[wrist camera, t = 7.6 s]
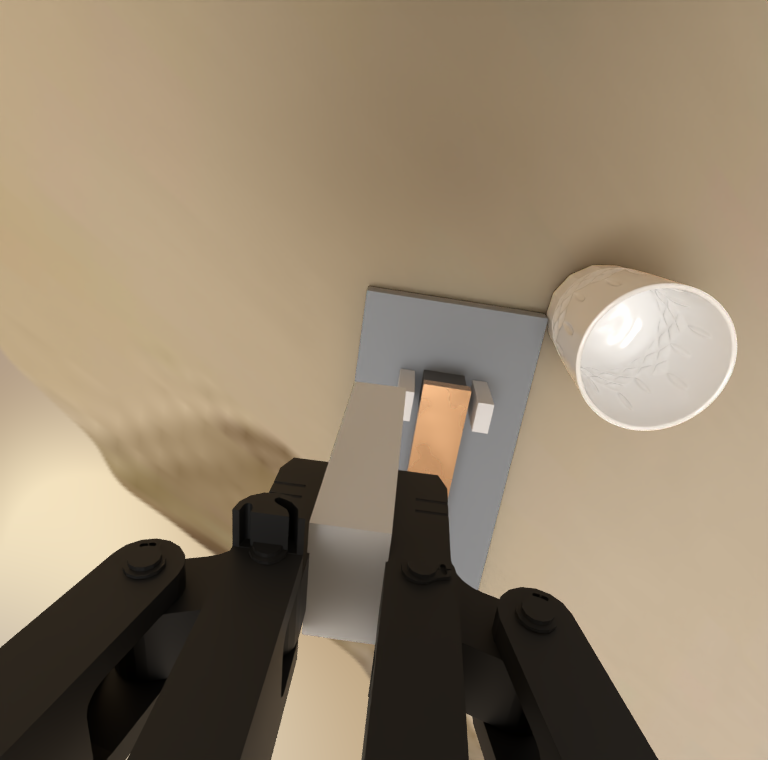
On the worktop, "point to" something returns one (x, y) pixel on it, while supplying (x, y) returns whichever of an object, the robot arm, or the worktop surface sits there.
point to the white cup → (641, 345)
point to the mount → (461, 367)
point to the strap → (439, 429)
